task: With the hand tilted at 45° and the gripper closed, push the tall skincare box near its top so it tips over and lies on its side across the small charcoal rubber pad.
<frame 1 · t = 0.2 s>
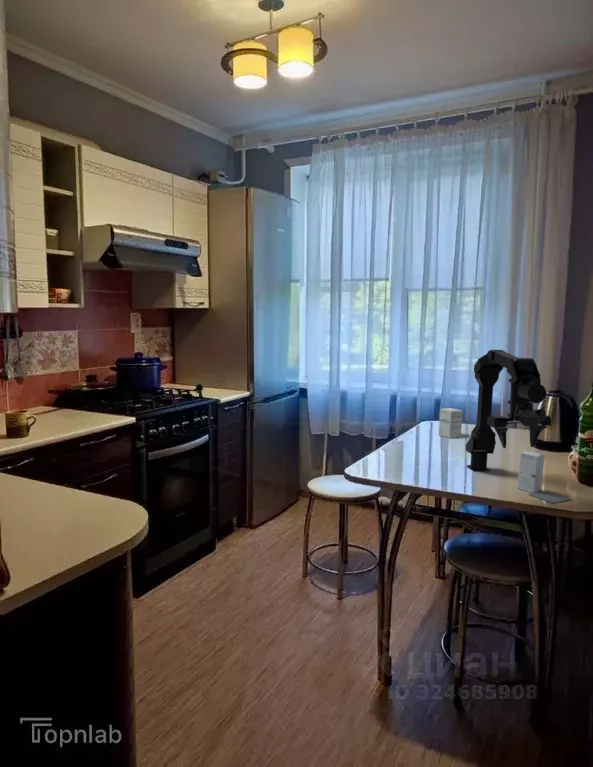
hand: (518, 447, 175), 15 cm above the table, tool pointing down, fingers open, 9 cm apart
supplement box: (449, 436, 258), on the table
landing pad: (549, 497, 174), on the table
skincare box: (529, 490, 181), on the table
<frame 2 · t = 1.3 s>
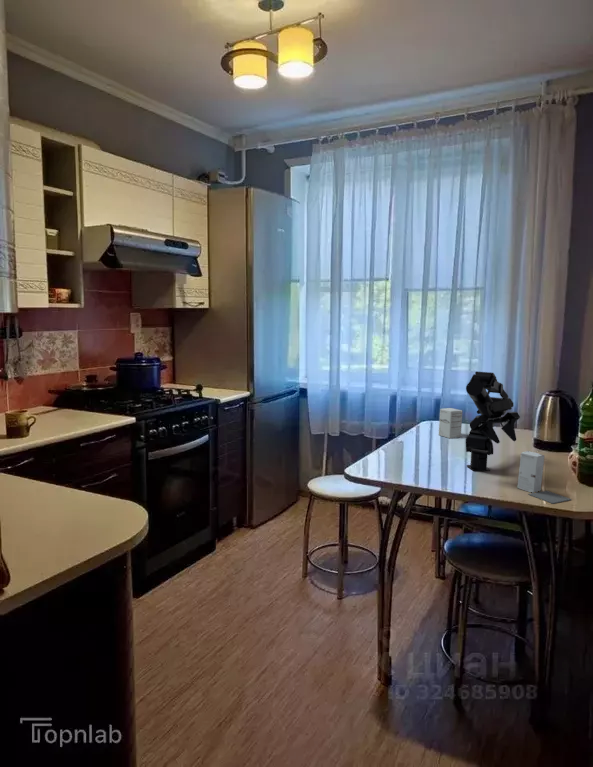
hand: (507, 441, 189), 14 cm above the table, tool tilted 45°, fingers open, 7 cm apart
nothing on the table moved.
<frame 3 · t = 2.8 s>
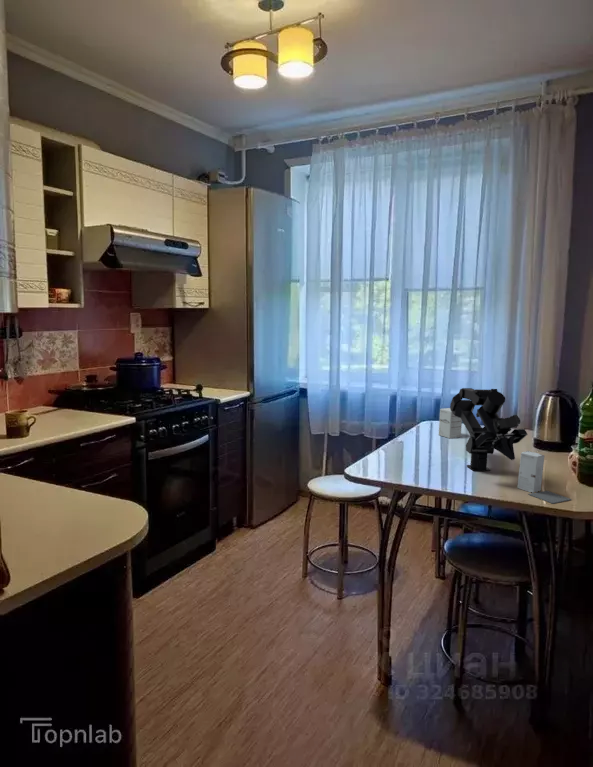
hand: (513, 459, 186), 8 cm above the table, tool tilted 45°, fingers closed
nothing on the table moved.
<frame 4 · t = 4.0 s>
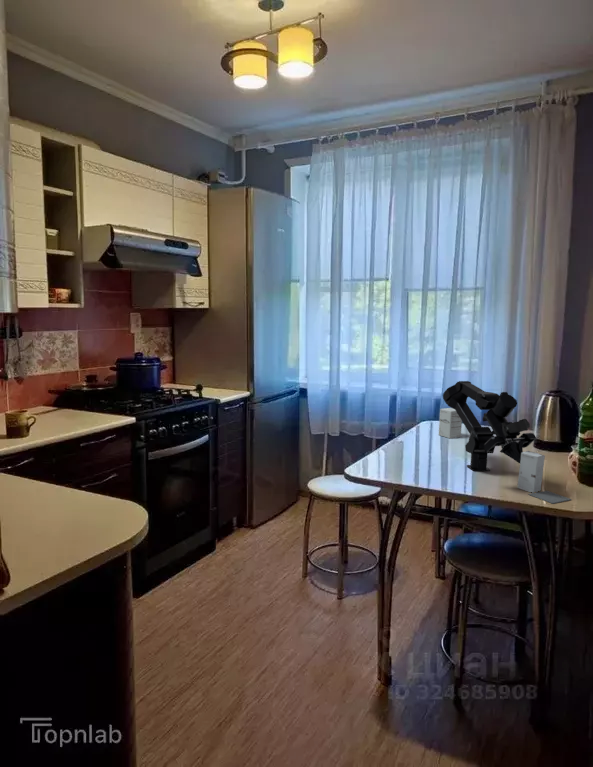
hand: (523, 464, 183), 8 cm above the table, tool tilted 45°, fingers closed
skincare box: (529, 490, 181), on the table, touching gripper
everything else where it was.
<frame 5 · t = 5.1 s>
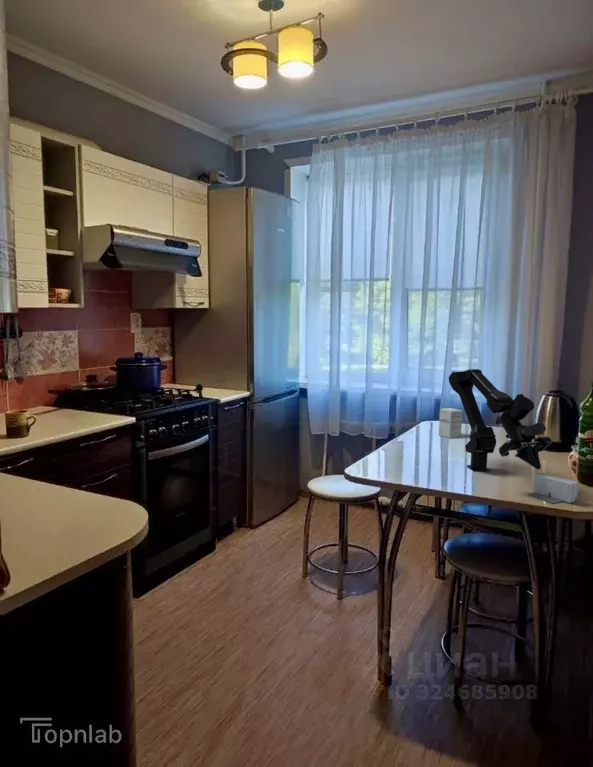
hand: (539, 468, 177), 8 cm above the table, tool tilted 45°, fingers closed
skincare box: (537, 482, 179), point 3 cm above the table, touching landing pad
everything else where it was.
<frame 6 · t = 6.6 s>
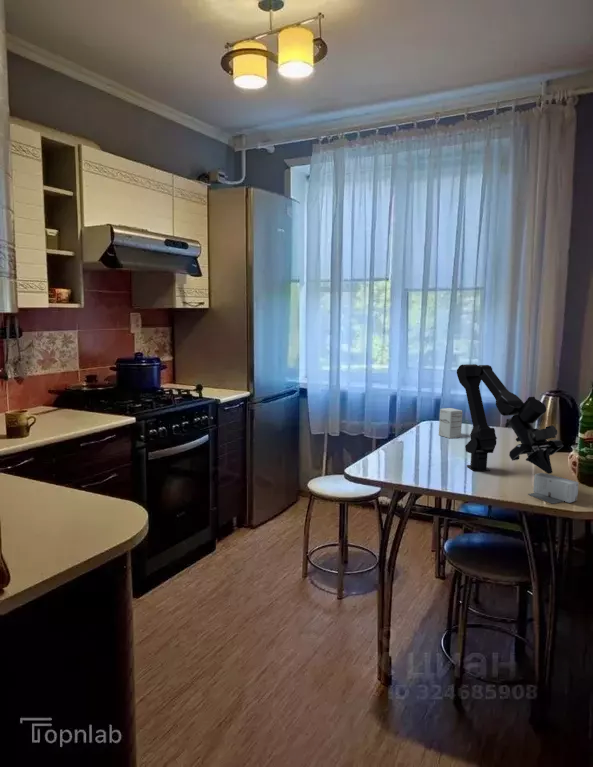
hand: (550, 473, 173), 8 cm above the table, tool tilted 45°, fingers closed
nothing on the table moved.
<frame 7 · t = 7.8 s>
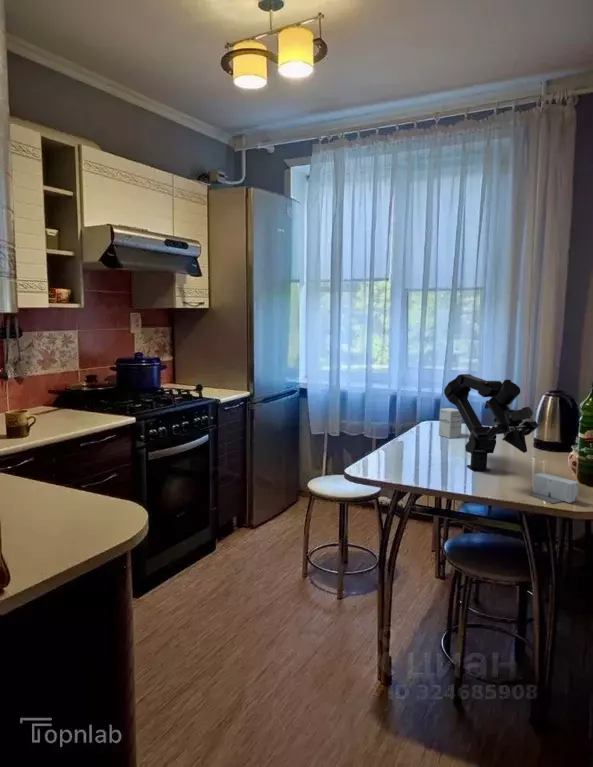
hand: (525, 452, 182), 12 cm above the table, tool tilted 45°, fingers closed
nothing on the table moved.
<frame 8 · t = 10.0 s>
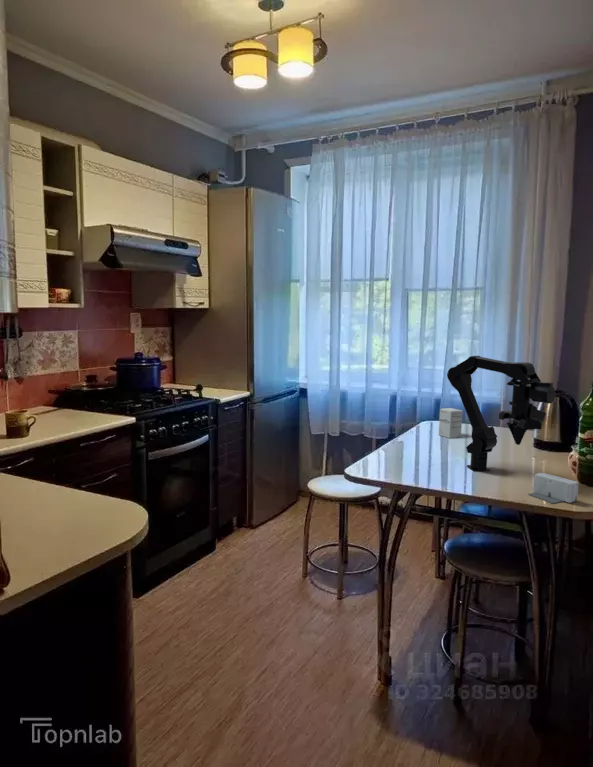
hand: (517, 444, 192), 12 cm above the table, tool pointing down, fingers closed
nothing on the table moved.
at the end: skincare box tilted 89°; skincare box 5.7 cm from the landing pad (horizontally) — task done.
